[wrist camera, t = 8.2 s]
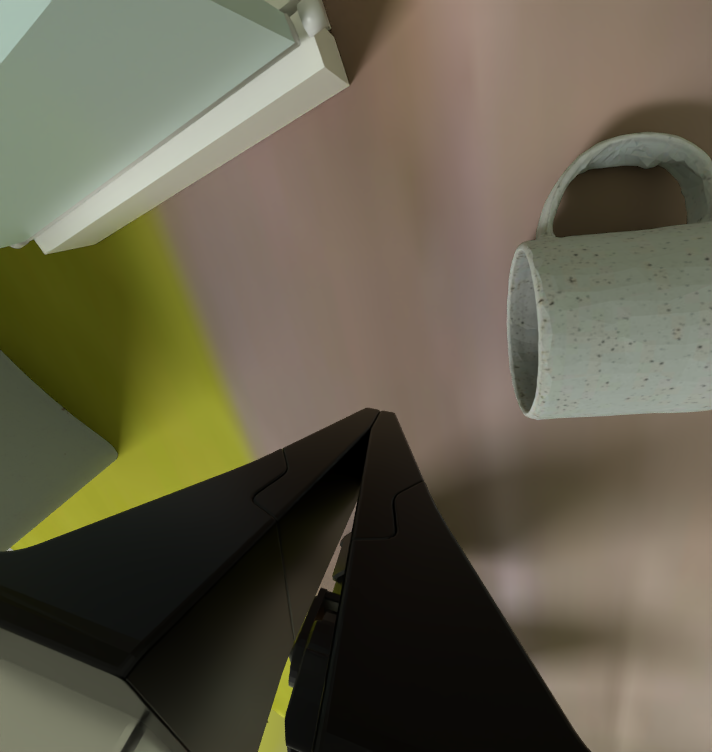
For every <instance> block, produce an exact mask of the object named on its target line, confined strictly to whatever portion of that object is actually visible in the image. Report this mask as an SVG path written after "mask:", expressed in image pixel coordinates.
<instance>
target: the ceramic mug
mask: <svg viewBox="0 0 712 752" xmlns="http://www.w3.org/2000/svg"><path fill="white" fill-rule="evenodd" d="M657 165H659V166H661V167H663V168H664V169H666V170H667V171H668V172H669V173H670V174H672V175H673V177H674V178H675V179H676V180H677V181H678V183H679V185H680V187H681V192H682V194H683V196H684V197H685V204H686V210H687V224H683V225H675V226H667V227H660V228H655V229H649V230H639V231H625V232H611V233H602V234H590V235H579V236H568V237H562V238H559V237H556V236H555V235H554V233H553V220H554V216H555V214H556V212H557V208H558V206H559V204H560V201H561V199H562V196H563V194H564V191H565V190H566V188H567V186H568V185H569V183H570V182H571V181H572V180H573V179H574V178H575V177H576V176H577V174H581V173H584V172H585V171H587V170H590V169H596V168H606V167H616V166H639V167H642V168H644V169H648V168H652V167H655V166H657ZM507 339H508V355H509V367H510V372H511V376H512V384H513V387H514V392H515V395H516V398H517V401H518V404H519V407H520V409H521V410H522V412H523V414H524V415H525V416H526V417H529V418H532V419H537V420H540V419H553V418H570V417H594V416H613V415H628V414H644V413H680V412H697V411H707V410H712V161H711V159H710V157H709V156H708V155H707V153H705V152H704V151H703V150H701V149H700V148H699V147H698V146H696V145H695V144H693V143H692V142H690V141H688V140H686V139H684V138H682V137H680V136H677V135H672V134H666V133H657V132H641V133H633V134H627V135H620V136H617V137H614V138H611V139H608V140H605V141H602V142H599V143H597V144H595V145H594V146H593V147H591V148H590V149H588V150H587V151H585V152H584V153H582V154H581V155H579V156H578V157H577V159H576V160H575V161H574V162H573V163H572V164H571V165H570V166H569V167H568V168H567V169H566V170H565V172H564V173H563V174H562V176H561V177H560V178H559V180H558V182H557V183H556V184H555V186H554V187H553V189H552V191H551V192H550V194H549V196H548V198H547V200H546V202H545V204H544V207H543V210H542V213H541V216H540V220H539V224H538V227H537V231H536V240H531V241H526V242H523V243H521V244H520V245H519V246H518V248H517V249H516V252H515V254H514V258H513V261H512V266H511V269H510V275H509V289H508V298H507Z"/></svg>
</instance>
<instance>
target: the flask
mask: <svg viewBox="0 0 712 752" xmlns="http://www.w3.org/2000/svg"><path fill="white" fill-rule="evenodd" d="M117 456H118V454H117V452H116V450H115V448H114V447H113V446H112V445H111V444H110V443H109V442H107V441H106V440H105V439H103V438H102V437H101V436H99V435H98V434H97V433H95V432H94V431H93V430H91V429H90V428H89V427H87V426H86V425H85V424H83V423H82V422H81V421H79V420H78V419H77V418H75V417H74V416H73V415H72V414H70V413H69V412H68V411H67V410H66V409H64V408H63V407H62V406H61V405H59V404H58V403H57V402H56V401H55V400H53V399H52V398H51V397H50V396H49V395H48V394H47V393H45V392H44V391H43V390H42V389H41V388H40V387H39V386H38V385H36V384H35V383H34V382H33V381H32V380H31V379H30V378H29V377H28V376H26V375H25V374H24V373H23V372H22V371H21V370H20V369H19V368H18V367H17V366H16V365H15V364H14V363H13V362H12V361H11V360H10V359H9V358H8V357H7V356H6V355H5V354H4V353H3V352H2V351H1V350H0V551H7V550H8V549H9V548H10V547H11V546H13V545H14V544H15V543H16V542H18V541H19V540H20V539H21V538H22V537H24V536H25V535H26V534H27V533H28V532H30V531H31V530H32V529H33V528H34V527H36V526H37V525H38V524H39V523H40V522H42V521H43V520H44V519H45V518H46V517H48V516H49V515H50V514H51V513H52V512H54V511H55V510H56V509H57V508H58V507H60V506H61V505H62V504H63V503H64V502H66V501H67V500H68V499H69V498H70V497H72V496H73V495H74V494H75V493H76V492H78V491H79V490H80V489H81V488H82V487H84V486H85V485H86V484H87V483H88V482H90V481H91V480H92V479H93V478H94V477H96V476H97V475H98V474H99V473H100V472H102V471H103V470H104V469H105V468H106V467H108V466H109V465H110V464H111V463H112V462H114V461H115V460H116V459H117Z"/></svg>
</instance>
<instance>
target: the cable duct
mask: <svg viewBox="0 0 712 752" xmlns="http://www.w3.org/2000/svg"><path fill="white" fill-rule="evenodd" d="M264 1H266V2H267V3H269V4H270V5H272V6H273V7H275V8H277V9H278V10H280V11H281V12H283V13H284V14H285V13H286V14H288V16H289V17H290V19H291V20H292V22H293V24H294V26H295V28H296V31H297V33H298V36H299V39H300V46H299V47H298V48H296V49H295V50H294V51H292V52H291V53H289V54H288V55H287V56H285V57H284V58H282V59H281V60H280V61H278V62H277V63H276V64H274V65H273V66H271V67H270V68H269V69H267V70H266V71H265V72H263V73H262V74H260V75H259V76H258V77H256V78H255V79H254V80H252V81H251V82H249V83H248V84H247V85H245V86H244V87H243V88H241V89H240V90H238V91H237V92H236V93H234V94H233V95H231V96H230V97H229V98H227V99H226V100H225V101H223V102H222V103H220V104H219V105H218V106H216V107H215V108H214V109H212V110H211V111H209V112H208V113H207V114H205V115H204V116H203V117H201V118H200V119H198V120H197V121H196V122H194V123H193V124H192V125H190V126H189V127H187V128H186V129H185V130H183V131H182V132H180V133H179V134H178V135H176V136H175V137H174V138H172V139H171V140H169V141H168V142H167V143H165V144H164V145H163V146H161V147H160V148H158V149H157V150H156V151H154V152H153V153H152V154H150V155H149V156H147V157H146V158H145V159H143V160H142V161H140V162H139V163H138V164H136V165H135V166H134V167H132V168H131V169H129V170H128V171H127V172H125V173H124V174H123V175H121V176H120V177H118V178H117V179H116V180H114V181H113V182H112V183H110V184H109V185H107V186H106V187H105V188H103V189H102V190H101V191H99V192H98V193H96V194H95V195H94V196H92V197H91V198H89V199H88V200H87V201H85V202H84V203H83V204H81V205H80V206H78V207H77V208H76V209H74V210H73V211H72V212H70V213H69V214H67V215H66V216H65V217H63V218H62V219H61V220H59V221H58V222H56V223H55V224H54V225H52V226H51V227H49V228H48V229H47V230H45V231H44V232H43V233H41V234H40V235H38V236H37V237H36V238H34V240H35V242H36V243H37V244H38V246H39V247H40V248H41V250H42V251H43V252H44V254H50V253H55V252H60V251H65V250H70V249H75V248H80V247H85V246H90V245H95V244H96V243H98V242H100V241H101V240H103V239H105V238H106V237H108V236H109V235H111V234H113V233H114V232H116V231H117V230H119V229H121V228H122V227H124V226H125V225H127V224H129V223H130V222H132V221H133V220H135V219H137V218H138V217H140V216H141V215H143V214H145V213H146V212H148V211H149V210H151V209H153V208H154V207H156V206H157V205H159V204H161V203H162V202H164V201H165V200H167V199H169V198H170V197H172V196H173V195H175V194H177V193H178V192H180V191H182V190H183V189H185V188H186V187H188V186H190V185H191V184H193V183H194V182H196V181H198V180H199V179H201V178H202V177H204V176H206V175H207V174H209V173H210V172H212V171H214V170H215V169H217V168H218V167H220V166H222V165H223V164H225V163H226V162H228V161H230V160H231V159H233V158H234V157H236V156H238V155H239V154H241V153H242V152H244V151H246V150H247V149H249V148H250V147H252V146H254V145H255V144H257V143H259V142H260V141H262V140H263V139H265V138H267V137H268V136H270V135H271V134H273V133H275V132H276V131H278V130H279V129H281V128H283V127H284V126H286V125H287V124H289V123H291V122H292V121H294V120H295V119H297V118H299V117H300V116H302V115H303V114H305V113H307V112H308V111H310V110H311V109H313V108H315V107H316V106H318V105H319V104H321V103H323V102H324V101H326V100H328V99H329V98H331V97H332V96H334V95H336V94H337V93H339V92H340V91H342V90H344V89H345V88H347V87H348V86H350V85H349V82H348V79H347V76H346V73H345V70H344V66H343V63H342V60H341V57H340V54H339V51H338V48H337V45H336V42H335V39H334V37H333V36H332V34H331V33H330V32H329V31H328V30H330V29H331V26H330V23H329V20H328V17H327V14H326V11H325V8H324V5H323V1H322V0H264ZM27 243H29V241H24V242H21V243H17V244H14V245H10V246H11V247H13V248H17V249H19V248H22V247H23V246H25V245H26V244H27Z"/></svg>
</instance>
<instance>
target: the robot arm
mask: <svg viewBox="0 0 712 752" xmlns="http://www.w3.org/2000/svg"><path fill="white" fill-rule="evenodd" d="M356 502H357V506H356V511H355V517H354V522H353V528H352V532H351V533H349V534H348V535H346V536H345V538H343V539H342V540H341V543H340V546H341V550H340V553H339V557H338V560H337V563H336V566H335V569H334V572H333V575H332V577H333V580H334V581H336V583H335V586H334V590H333V592H329V591H327V589H324V588H321V589H320V591H319V593H318V596H315V595H316V593H317V590H318V588H319V586H320V584H321V581H322V579H323V577H324V574H325V572H326V570H327V568H328V565H329V563H330V561H331V559H332V556H333V554H334V552H335V550H336V547H337V545H338V543H339V541H340V538H341V536H342V534H343V532H344V529H345V527H346V525H347V522H348V520H349V518H350V516H351V513H352V511H353V509H354V507H355V504H356ZM307 613H308V614H307ZM306 615H307V616H306ZM305 617H306V618H305ZM288 656H289V658H290V661H291V665H290V674H289V686H290V687H293V691H292V694H291V698H290V701H289V705H288V708H287V712H286V716H285V740H286V746H287V750H288V752H591V751H590V750H589V749H588V748H587V747H586V745H585V744H584V742H583V741H582V740H581V738H580V737H579V736H578V734H577V733H576V731H575V730H574V728H573V727H572V725H571V723H570V722H569V720H568V719H567V717H566V715H565V714H564V712H563V711H562V709H561V707H560V706H559V704H558V703H557V701H556V699H555V698H554V696H553V695H552V693H551V691H550V690H549V688H548V687H547V685H546V683H545V682H544V680H543V679H542V677H541V675H540V674H539V672H538V670H537V669H536V667H535V666H534V664H533V662H532V661H531V659H530V658H529V656H528V654H527V653H526V651H525V650H524V648H523V646H522V645H521V643H520V642H519V640H518V638H517V637H516V635H515V634H514V632H513V630H512V629H511V627H510V626H509V624H508V622H507V621H506V619H505V618H504V616H503V614H502V613H501V611H500V610H499V608H498V606H497V605H496V603H495V602H494V600H493V598H492V597H491V595H490V593H489V592H488V590H487V589H486V587H485V585H484V584H483V582H482V581H481V579H480V577H479V576H478V574H477V573H476V571H475V569H474V568H473V566H472V565H471V563H470V561H469V560H468V558H467V557H466V555H465V553H464V552H463V550H462V549H461V547H460V545H459V544H458V542H457V541H456V539H455V537H454V536H453V534H452V533H451V531H450V529H449V528H448V526H447V524H446V523H445V521H444V519H443V518H442V516H441V514H440V512H439V511H438V509H437V507H436V505H435V503H434V501H433V499H432V497H431V495H430V492H429V490H428V488H427V485H426V483H425V482H424V479H423V477H422V475H421V473H420V470H419V468H418V466H417V463H416V461H415V459H414V456H413V454H412V452H411V449H410V447H409V445H408V442H407V440H406V438H405V435H404V433H403V431H402V428H401V426H400V424H399V422H398V419H397V417H396V415H395V413H393V412H388V411H381V412H380V411H379V410H377V409H372V408H365V409H363V410H360V411H358V412H356V413H354V414H352V415H350V416H348V417H346V418H344V419H342V420H340V421H338V422H336V423H334V424H332V425H330V426H328V427H326V428H323V429H321V430H319V431H317V432H315V433H313V434H311V435H309V436H307V437H305V438H303V439H301V440H299V441H297V442H295V443H293V444H291V445H288V446H286V447H284V448H283V450H282V449H279V450H277V451H275V452H273V453H271V454H269V455H267V456H264V457H262V458H260V459H258V460H256V461H253V462H251V463H249V464H246V465H244V466H241V467H239V468H236V469H234V470H231V471H229V472H226V473H223V474H221V475H218V476H216V477H213V478H210V479H208V480H205V481H202V482H200V483H197V484H195V485H192V486H189V487H187V488H184V489H181V490H179V491H176V492H174V493H171V494H168V495H166V496H163V497H160V498H158V499H155V500H153V501H150V502H147V503H145V504H142V505H140V506H137V507H134V508H132V509H129V510H126V511H124V512H121V513H119V514H116V515H113V516H111V517H108V518H105V519H103V520H100V521H98V522H95V523H92V524H90V525H87V526H84V527H82V528H79V529H77V530H74V531H71V532H69V533H66V534H63V535H61V536H58V537H56V538H53V539H50V540H48V541H45V542H43V543H40V544H37V545H34V546H31V547H28V548H24V549H19V550H14V551H0V752H258V749H259V746H260V742H261V739H262V736H263V733H264V729H265V727H266V723H267V720H268V717H269V714H270V711H271V707H272V704H273V701H274V698H275V695H276V691H277V688H278V685H279V682H280V679H281V675H282V672H283V670H284V667H285V664H286V662H287V659H288Z"/></svg>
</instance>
